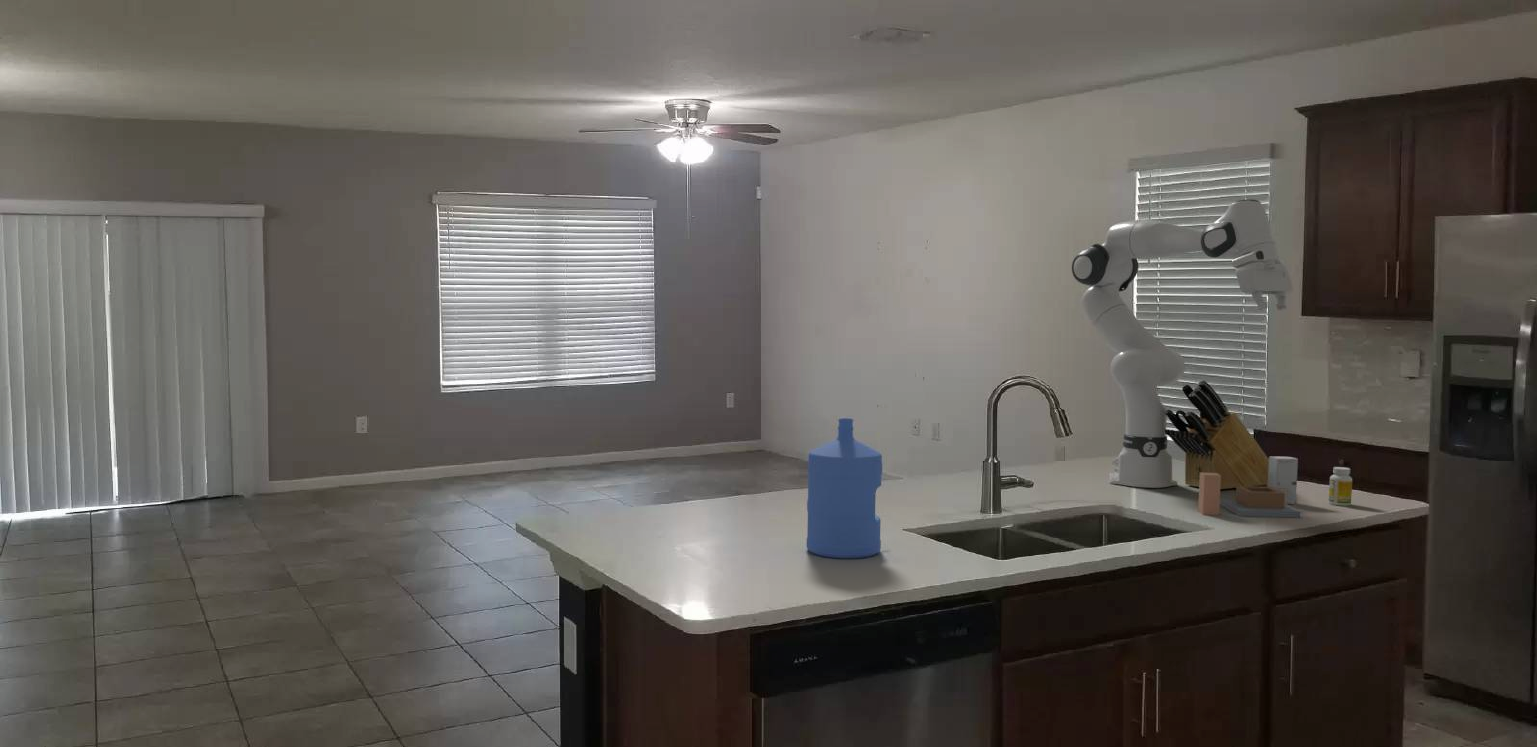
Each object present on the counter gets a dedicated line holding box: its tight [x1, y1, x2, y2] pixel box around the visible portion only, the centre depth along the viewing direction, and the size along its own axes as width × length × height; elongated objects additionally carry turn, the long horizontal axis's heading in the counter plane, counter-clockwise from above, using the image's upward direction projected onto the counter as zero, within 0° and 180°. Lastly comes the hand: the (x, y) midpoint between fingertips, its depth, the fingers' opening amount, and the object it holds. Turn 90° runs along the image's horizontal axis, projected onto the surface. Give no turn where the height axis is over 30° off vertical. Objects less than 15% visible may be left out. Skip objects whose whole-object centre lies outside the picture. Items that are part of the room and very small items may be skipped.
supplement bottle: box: [1328, 466, 1353, 507], centre depth 312 cm, size 5×5×10 cm
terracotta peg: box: [1197, 472, 1221, 516], centre depth 296 cm, size 4×4×10 cm
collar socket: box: [1220, 486, 1302, 519], centre depth 301 cm, size 15×15×6 cm
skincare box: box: [1267, 455, 1299, 505], centre depth 312 cm, size 6×4×12 cm
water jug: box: [806, 417, 883, 560], centre depth 248 cm, size 16×16×28 cm
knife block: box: [1164, 380, 1269, 490], centre depth 335 cm, size 11×35×31 cm, turn 115°
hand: (1273, 309), depth 304 cm, fingers open, 8 cm apart
